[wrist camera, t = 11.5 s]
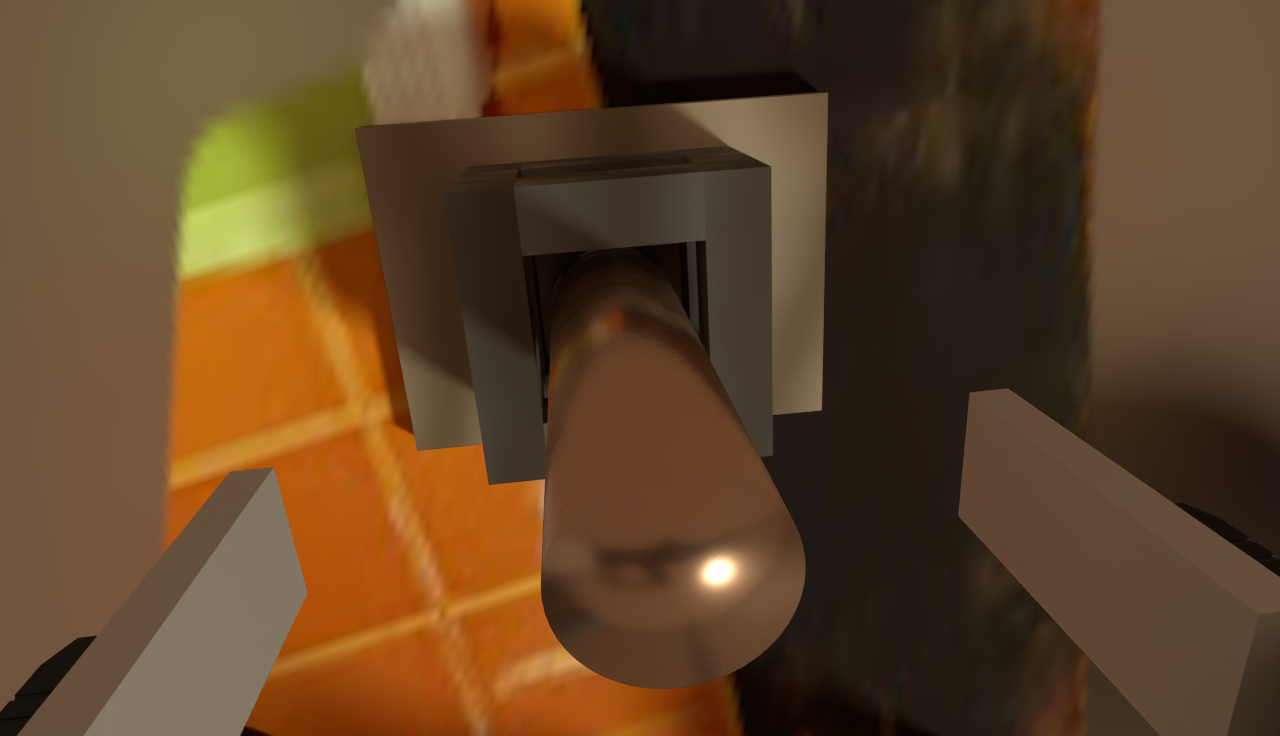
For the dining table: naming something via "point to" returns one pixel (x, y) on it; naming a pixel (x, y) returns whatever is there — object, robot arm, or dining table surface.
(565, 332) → the copper tube
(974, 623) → the dining table surface
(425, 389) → the collar stand
